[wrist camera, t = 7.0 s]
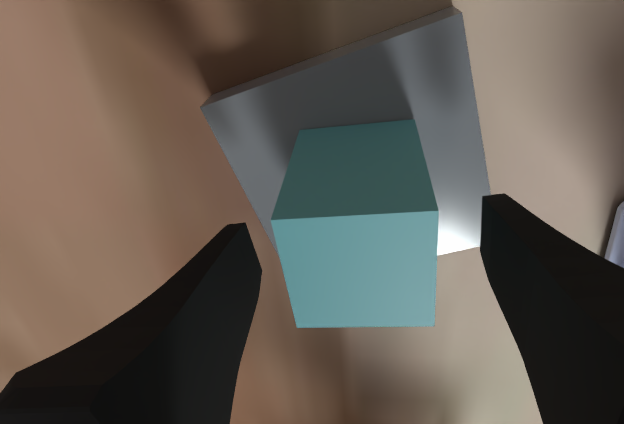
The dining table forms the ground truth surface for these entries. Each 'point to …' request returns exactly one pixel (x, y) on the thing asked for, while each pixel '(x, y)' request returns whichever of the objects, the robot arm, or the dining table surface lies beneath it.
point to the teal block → (358, 227)
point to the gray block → (367, 116)
